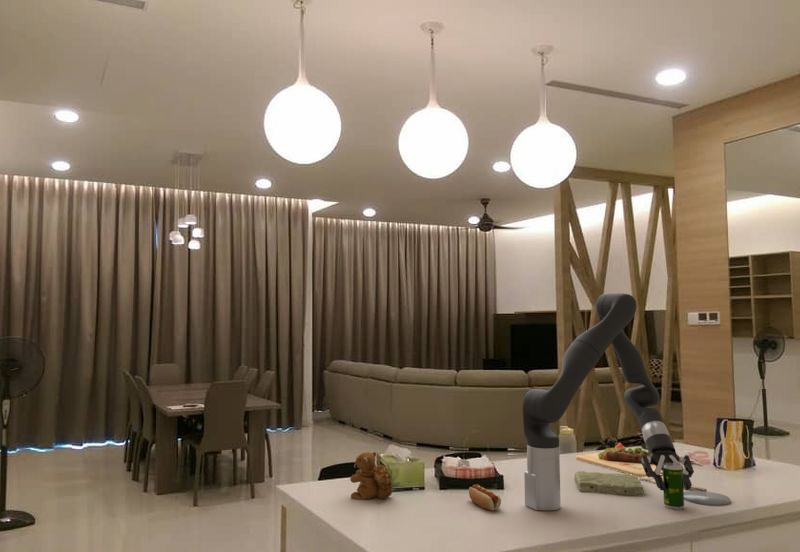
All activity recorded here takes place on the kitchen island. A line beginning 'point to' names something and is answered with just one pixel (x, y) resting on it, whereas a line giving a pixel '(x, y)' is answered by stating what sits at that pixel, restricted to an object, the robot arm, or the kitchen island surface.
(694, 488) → the beech turner
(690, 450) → the kitchen island surface
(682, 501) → the beer can
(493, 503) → the food
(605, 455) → the cutting board
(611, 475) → the decorative tile
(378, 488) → the stuffed squirrel
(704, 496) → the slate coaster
